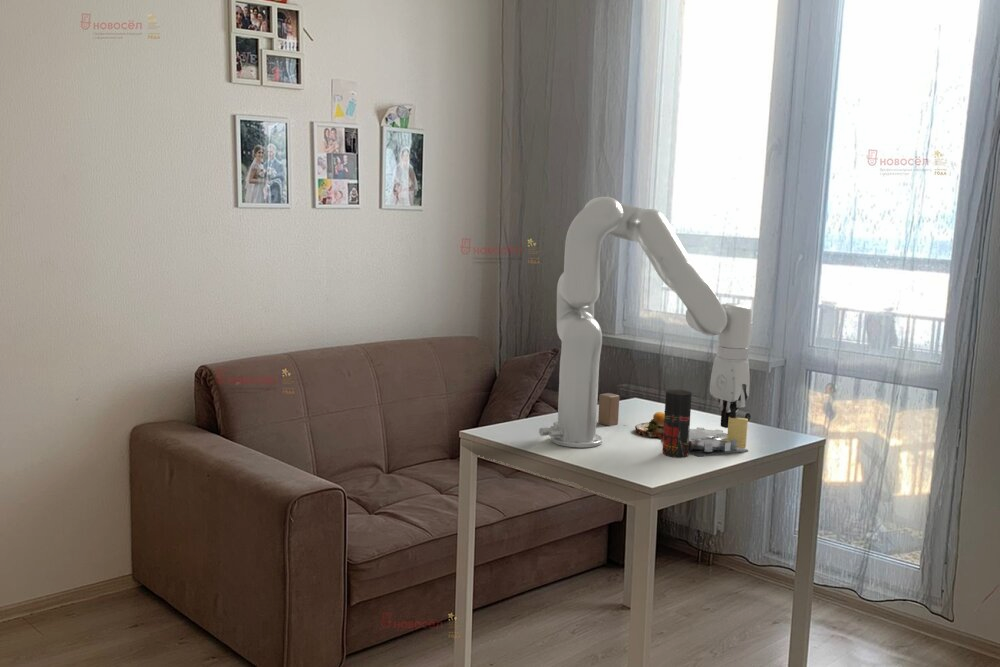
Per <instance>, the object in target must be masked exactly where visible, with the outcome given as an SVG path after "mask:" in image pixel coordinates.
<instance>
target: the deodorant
mask: <svg viewBox="0 0 1000 667" xmlns="http://www.w3.org/2000/svg"><path fill="white" fill-rule="evenodd" d="M692 394H693V392H691V391H688V390H684V389H683V390H682V389H668V390H665V401H664V403H665V404H664V411H665V412H664V413H665V417H664V434H663V439H662V440H663V442H662V452H661V453H662V455H663V456H664V457H668V458H673V459H674V458H675V459H685V458H687V457H688V456H689V453H688V445H689V429H691V428H690V427H691V426H690V425H691V413H692V412H691V410H692V409H691V408H692Z"/></svg>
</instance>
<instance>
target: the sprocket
mask: <svg viewBox="0 0 1000 667" xmlns="http://www.w3.org/2000/svg"><path fill="white" fill-rule="evenodd" d="M748 423H749V419H748V418H746V417H745V418H743V417H729V420H728V428H727V433H725V432H724V430H721V429H713V430H712V429H707V428H706V429H705V428H704V427H696V428H689V445H688V449H690V450H691V449H701V450H704V451H705V452H712V450H722V451H730V448H737V447H739V448H745V449H747V439H748V438H747V436H748V426H749V424H748Z"/></svg>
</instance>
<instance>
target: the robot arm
mask: <svg viewBox="0 0 1000 667" xmlns="http://www.w3.org/2000/svg"><path fill="white" fill-rule="evenodd" d="M606 236H611V237H614V238H619V239H622V240H627V241H631V242H635V243H638V244H639V245H640V247H641V248H642V250H643V252H644V253H645V255H646V257H647V258H648V260H649V262H650V264H651V265H652V267H653V268H654V270H655V271H656V273H657V275H658V277H659V278H660V279H661V281H662V282H663V283H664V284H665V285H666V286H667V287H668V288H670V289H671V290H672V291H673V292H674V293H675V295H677V297H678V298H679V299H680V300H681V302H682V303H683V305H684V306H685V308H686V311H685V321H686V323H687V325H688V326H689V327H690V328H691V329H692V330H695V331H697V332H699V333H701V334H702V335H705V336H709V337H710V336H711V337H713V336H718V337H717V349H716V350H717V351H716V356H715V358H714V361H713V365H712V369H711V374H710V375H711V376H710V383H709V394H710V395H711V396H712V397H713V399H714V400H715V401H717V402H718V404H719V410H720V412H721V414H720V427H721V428H724V429H728V420H729V417H736V415H737V413H738V410H739V408H746V401H748V400H749V397H750V387H751V386H750V380H751V379H750V378H751V377H750V363H749V353H750V352H749V351H750V339H751V326H752V307H751V306H750V305H748V304H746V303H740V302H739V303H736V302H728V303H721V301H720V299H719V297H718V296H717V294H716V293H715V291H714V289H713V288H712V287H711V285H710V283H709V282H708V281H707V280H706V278H705V277H704V276H703V274H702V273H701V271H700V270H699V268H698V267H697V266H696V264H695V263H694V262H693V260H692V259H691V257H690V255H689V254H688V252H687V251H686V249H685V247H684V246H683V244H682V242H681V241H680V239H679V237H678V236H677V234H676V232H675V231H674V229H673V227H672V225H671V224H670V223H669V220H668V219H667V218H666V216H665V215H664V214H663V213H662V212H661V211H660V210H657V209H652V208H642V207H637V206H633V205H630V204H625V203H622V202H619V201H618V200H617V199H615V198H613V197H610V196H600V197H594V198H591V199H590V200H589V201H588V202H586V204H585V205H584V207H583V208H582V209H581V210H580V211H579V212H578V213H577V215H575V217H574V218H573V220H572V221H571V223H570V225H569V226H568V230H567V233H566V236H565V244H564V258H563V259H564V260H563V261H564V262H563V263H564V265H563V272H562V273H561V275H560V276H559V279H558V281H557V286H556V331H557V332H556V333H557V336H558V337H559V339H560V341H561V348H560V359H559V376H558V378H559V381H558V382H559V384H558V402H557V405H558V406H557V421H556V422H553V425H551V426H550V427H540V428H539V430H538V433H539V435H540V436H541V437H543V436H545V437H546V436H549V437H550V441H551V442H552V443H553V444H555V445H559V446H563V447H568V448H592V447H594V448H595V447H598V446H600V445H601V444H602V443H603V438H602V437H601V435H599V434H597V421H598V419H597V418H598V417H597V416H598V399H599V398H598V397H599V396H598V394H599V377H600V376H599V374H600V372H599V371H600V360H601V353H602V345H603V333H602V328H601V325H600V324H599V322H598V321H597V320H596V318H595V303H596V302H598V299H599V296H600V295H601V294H600V293H601V292H600V291H601V282H600V280H601V279H600V276H601V275H600V270H601V269H600V268H601V267H600V266H601V265H600V263H601V262H600V261H601V249H602V244H603V241H604V239H605V238H606ZM736 418H737V417H736Z"/></svg>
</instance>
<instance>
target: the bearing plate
mask: <svg viewBox="0 0 1000 667" xmlns="http://www.w3.org/2000/svg"><path fill="white" fill-rule="evenodd" d="M660 442H661V443H663V439H660ZM745 452H746V453H748V452H749V449H747V448H739V447H737V448H730V451H722V450H712V452H705V451H704V450H701V449H691V450H690V449H688V454H690V455H692V456H695V457H697V458H701V457H709V456H718V455H719V456H720V455H727V454H728V455H729V454H738V453H745Z"/></svg>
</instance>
